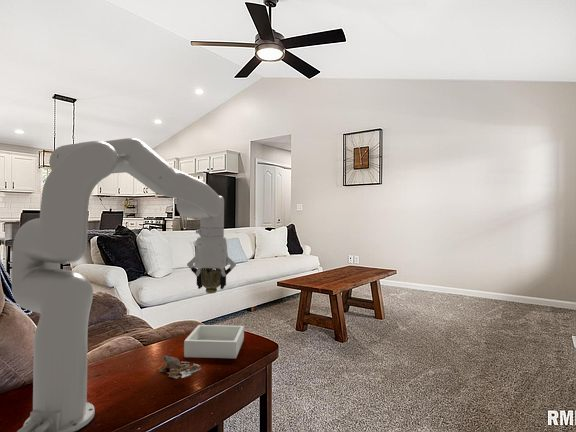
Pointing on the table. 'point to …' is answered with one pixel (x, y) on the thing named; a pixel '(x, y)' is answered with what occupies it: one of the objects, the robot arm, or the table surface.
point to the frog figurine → (178, 367)
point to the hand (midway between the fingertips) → (211, 287)
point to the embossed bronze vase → (211, 279)
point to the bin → (214, 341)
